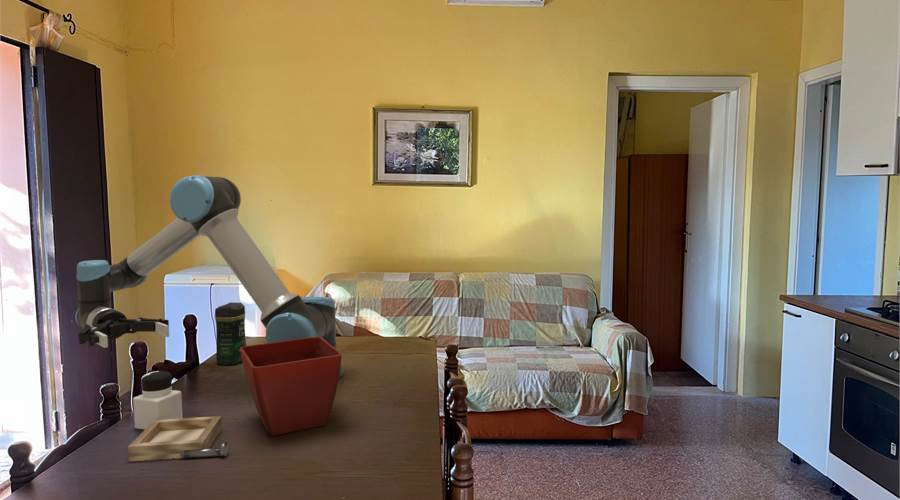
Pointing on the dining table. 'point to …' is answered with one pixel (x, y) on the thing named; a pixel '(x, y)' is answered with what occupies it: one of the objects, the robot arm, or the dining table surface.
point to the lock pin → (206, 452)
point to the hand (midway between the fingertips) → (137, 336)
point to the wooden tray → (174, 437)
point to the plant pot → (292, 382)
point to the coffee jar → (230, 332)
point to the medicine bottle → (156, 400)
